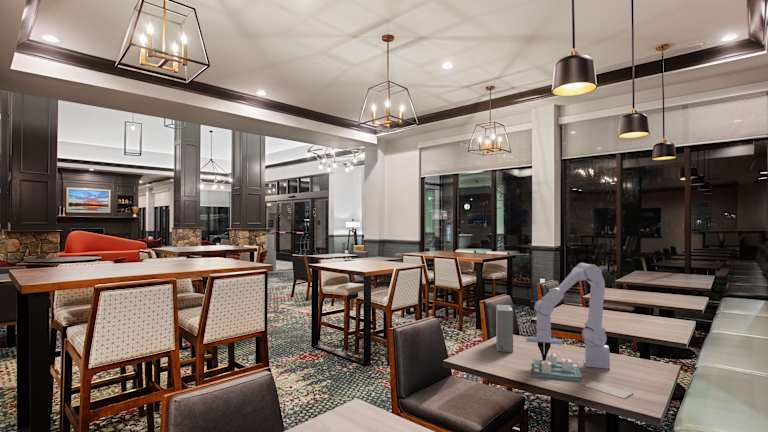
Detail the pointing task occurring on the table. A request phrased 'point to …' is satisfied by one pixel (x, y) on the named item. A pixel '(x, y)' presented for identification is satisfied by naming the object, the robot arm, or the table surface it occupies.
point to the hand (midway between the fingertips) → (544, 359)
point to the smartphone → (609, 390)
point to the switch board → (557, 371)
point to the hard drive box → (504, 328)
